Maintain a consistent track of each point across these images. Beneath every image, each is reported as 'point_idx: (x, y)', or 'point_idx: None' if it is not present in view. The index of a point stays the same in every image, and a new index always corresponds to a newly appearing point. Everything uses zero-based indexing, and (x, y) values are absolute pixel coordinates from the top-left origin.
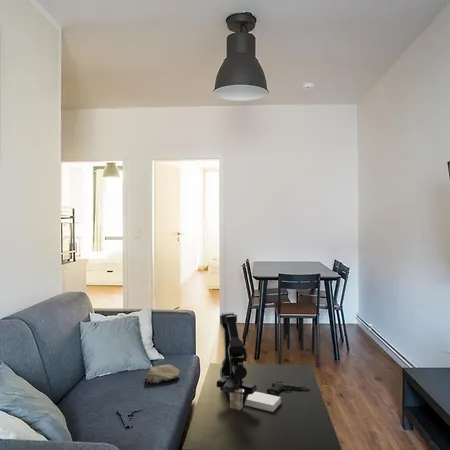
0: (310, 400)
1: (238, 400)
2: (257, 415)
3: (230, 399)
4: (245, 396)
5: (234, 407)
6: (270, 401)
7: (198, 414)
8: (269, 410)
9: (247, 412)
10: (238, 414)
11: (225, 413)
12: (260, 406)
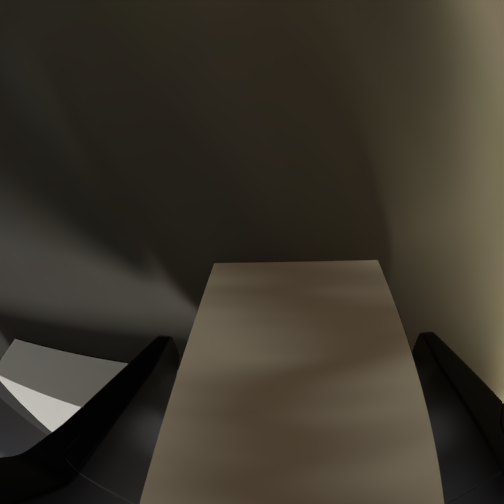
0: (50, 431)
1: (197, 389)
2: (10, 249)
3: (403, 369)
4: (34, 454)
5: (300, 276)
6: (44, 413)
7: None
8: (29, 346)
9: (97, 257)
10: (142, 141)
11: (359, 51)
12: (74, 371)
